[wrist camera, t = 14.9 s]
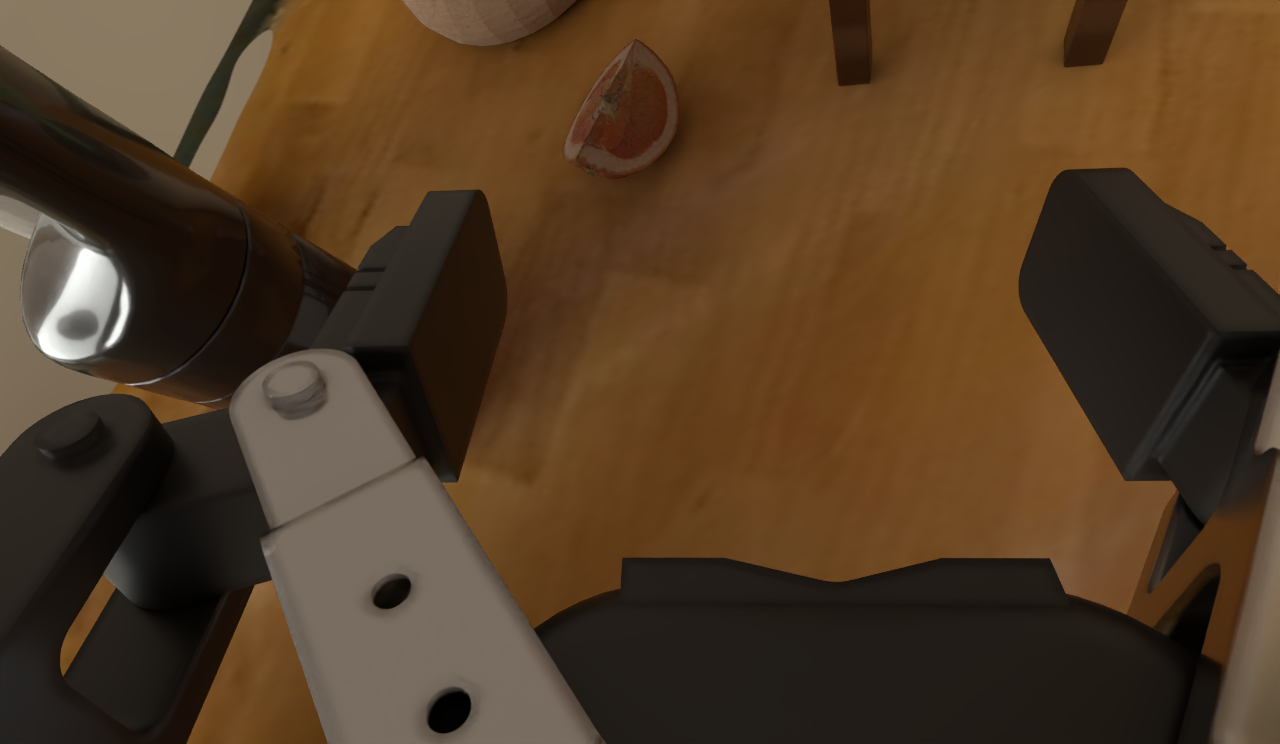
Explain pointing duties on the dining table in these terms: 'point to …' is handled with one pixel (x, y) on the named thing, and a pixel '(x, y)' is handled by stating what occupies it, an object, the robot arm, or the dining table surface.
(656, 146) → the fruit slice
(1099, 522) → the dining table surface
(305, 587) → the robot arm
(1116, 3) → the plant stand
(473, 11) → the potted plant
